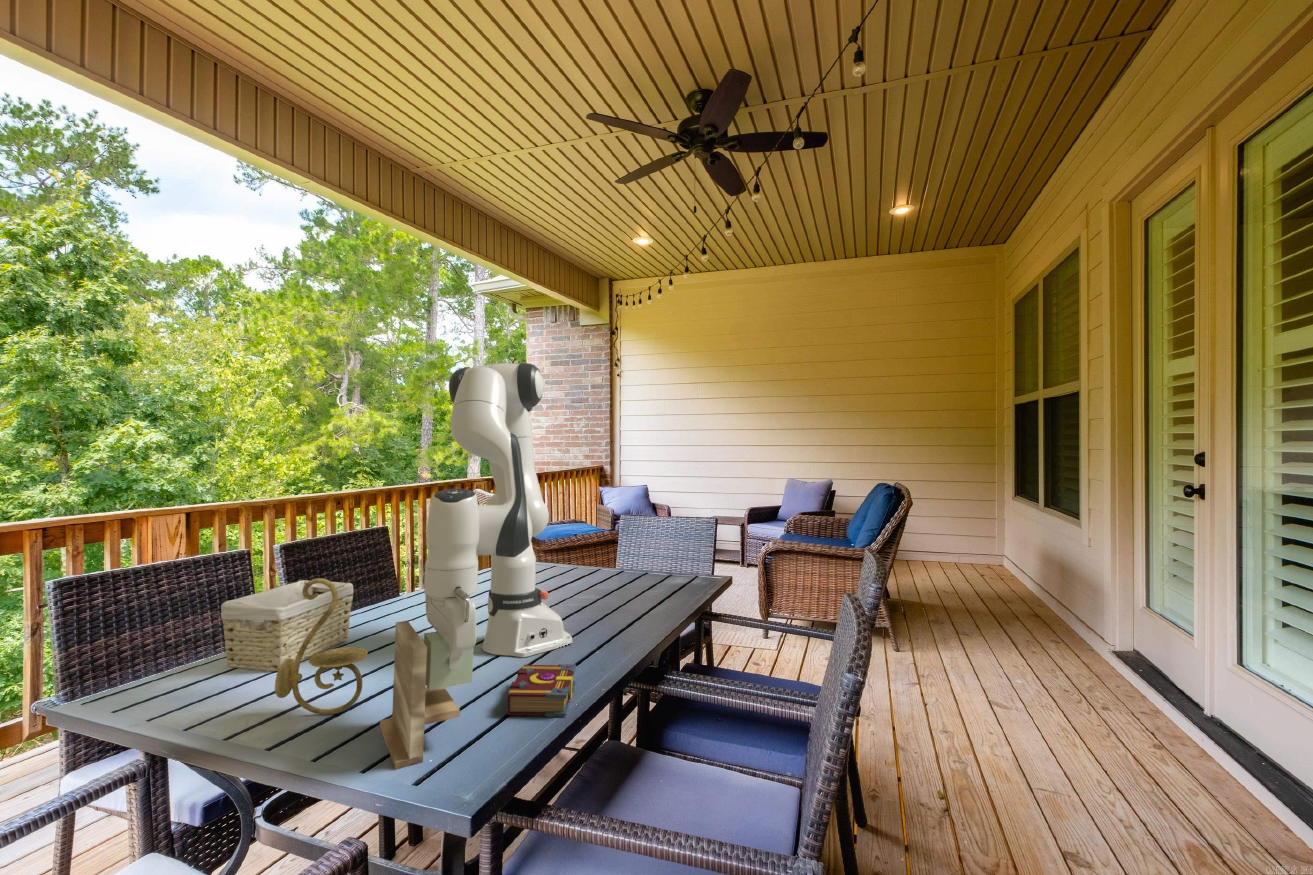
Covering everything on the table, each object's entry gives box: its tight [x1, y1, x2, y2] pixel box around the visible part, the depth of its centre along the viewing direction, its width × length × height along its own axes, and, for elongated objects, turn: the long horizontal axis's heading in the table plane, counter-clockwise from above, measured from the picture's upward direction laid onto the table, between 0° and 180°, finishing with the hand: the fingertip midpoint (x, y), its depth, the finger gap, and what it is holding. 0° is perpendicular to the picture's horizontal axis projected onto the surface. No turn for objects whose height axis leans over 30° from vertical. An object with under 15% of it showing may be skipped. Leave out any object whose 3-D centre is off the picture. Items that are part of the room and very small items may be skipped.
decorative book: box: [506, 663, 577, 718], centre depth 112 cm, size 11×16×5 cm
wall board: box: [379, 620, 461, 770], centre depth 96 cm, size 10×16×18 cm, turn 34°
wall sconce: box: [274, 577, 368, 716], centre depth 103 cm, size 14×10×25 cm
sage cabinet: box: [423, 631, 474, 691], centre depth 99 cm, size 8×6×10 cm
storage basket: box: [220, 579, 354, 672], centre depth 133 cm, size 24×16×15 cm
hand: (448, 660), depth 98 cm, fingers closed on sage cabinet, 5 cm apart
